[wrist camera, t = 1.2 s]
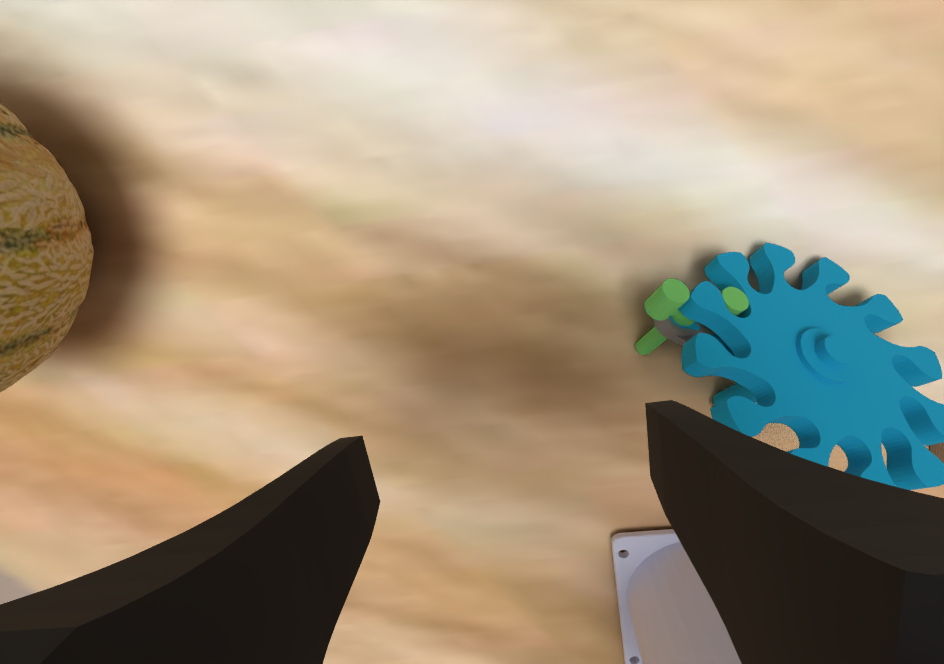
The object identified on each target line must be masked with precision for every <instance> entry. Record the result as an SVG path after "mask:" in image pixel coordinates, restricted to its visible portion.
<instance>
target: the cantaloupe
mask: <svg viewBox="0 0 944 664" xmlns="http://www.w3.org/2000/svg"><path fill="white" fill-rule="evenodd" d="M93 256H94V248H93V245H92V240H91V233H90V231H89V228H88V226H87V223H86V218H85V212H84V207H83V205H82V202H81V200H80V198H79V196H78V194H77V191H76V189H75V187H74V186H73V185H72V183H71V182H70V181H69V179H68V177H67V175H66V173H65V171H64V170H63V168H62V167H61V166H60V165H59V164H58V162H57V161H56V159H55V157H54V156H53V155H52V154H51V153H50V151H49V150H48V149H46V148H45V147H44V146H42V145H41V144H39V143H38V142H36V141H35V140H34V139H33V137H32V136H31V135H30V133H29V132H28V131H27V129H26V128H25V126H24V125H23V124H22V123H21V121H20V120H19V119H18V118H17V117H16V115H15V114H14V113H12V112H11V111H10V110H8V109H7V108H6V107H4V106H3V105H2V104H0V392H1V391H4V390H5V389H7V388H8V387H10V386H11V385H13V384H14V383H16V382H17V381H18V380H20V379H21V378H22V377H23V376H25V375H26V374H28V373H29V372H31V371H32V370H34V369H35V368H36V367H37V366H38V365H39V364H41V363H42V362H43V361H44V360H45V359H47V358H49V357H50V356H51V354H52V353H53V352H54V350H55V349H56V348H57V345H58V344H59V343H60V342H61V341H62V340H63V338H64V337H65V336H66V334H67V333H68V331H69V329H70V328H71V326H72V324H73V322H74V319H75V317H76V315H77V312H78V309H79V306H80V304H81V303H82V302H83V301H84V299H85V297H86V293H87V290H88V286H89V280H90V274H91V268H92V260H93Z"/></svg>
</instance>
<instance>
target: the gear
mask: <svg viewBox="0 0 944 664" xmlns="http://www.w3.org/2000/svg"><path fill="white" fill-rule="evenodd" d="M794 263H795V257H794V254H793V253H792V251H790V250H788V249H786V248H784V247H781V246H778V245H775V244H770V243H765V244H764V245H763V246H762V247H761V248H759V249H758V250H757V251H756V252H755V253H754V254H752V255H751V257H750V265H751V267H752V268H753V270H754V272H755V274H756V276H757V279H758V283H759V292H757V291H755V290H754V289H753V288H752V287H751V286H750V284H749V283H748V279H747V277H748V273H749V268H750V267H749V263H748V260H747V259H746V258H745V256H744V255H743V254H741V253H739V252H728V253H723V254H720V255H717V256H716V257H715V258H714V259H713V260H712V261H711V262H710V263H709V264H708V265H707V266H706V267H705V268H704V270H705V274H706V276H707V277H708V279H709V280H710V281H711V282H713V283H714V284H715V285H716V286H717V287H718V288H719V289H720V290H721V292H720V291H719V289H718V288H717V287H716V286H715V285H713V284H712V283H710V282H708V281H704V282H701V283H700V284H699V285H698V286H697V287H695V288H694V289H693V290H692V291H691V292H689V290H688V288H687V286H686V285H685V284H684V283H683V282H681V281H679V280H677V279H667V280H666V281H665V282H664V283H663V284H662V285H661V286H660V287H659V288H658V289H657V290H656V291H655V292H654V293H653V294H652V295H651V296H650V297H649V298H648V299H647V300H646V301H645V303H644V308H645V311H646V312H647V314H648V315H649V316H650V317H651V318H653V321H654V325H655V327H653V328H652V329H651V330H650V331H649V332H648V333H647V334H646V335H644V336H643V337H642V338H641V339H640V340H639V341H638V342H637V343H636V345H635V347H636V350H637V351H638V353H640V354H642V355H648V354H650V353H651V352H652V351H653V350H655V349H656V348H657V347H658V346H660V345H661V344H662V343H663V342H665V341H666V340H667V339H669V340H671V341H673V342H675V343H676V344H678V345H680V346H682V347H683V348H682V368H683V371H685V372H686V373H687V374H689V375H691V376H694V377H703V376H720V377H724V378H727V379H730V380H732V381H734V382H736V384H734V385H732V386H730V387H728V388H726V389H725V390H723V391H721V392H719V393H717V394H715V395H714V397H713V404H714V406H712V408H711V409H710V410H711V415H712V418H713V420H716V421H718V422H720V423H722V424H724V425H726V426H728V427H730V428H732V429H734V430H736V431H739V432H741V433H743V434H745V435H747V436H750V437H752V436H755V435H758V434H759V433H760V432H761V431H762V429H763V428H764V426H765V425H766V424H767V423H782V424H785V425H787V426H789V427H790V428H791V429H793V430H794V432H795V433H796V435H797V436H798V439H799V443H800V445H799V449H794V450H791V451H787V452H788V453H790V454H793V455H796V456H798V457H801V458H804V459H807V460H810V461H813V462H815V463H818V464H821V465H824V466H827V467H828V462H829V457H830V453H831V451H832V449H833V447H834V446H835V445H836V444H837V445H838V446H840V447H841V448H842V450H843V451H844V452H845V454H846V456H847V459H848V468H847V469H846V471H845V473H849V474H852V475H855V476H859V477H862V478H866V479H869V480H873V481H876V482H880V483H884V484H888V485H891V486H895V485H896V486H897V487H899V488H903V489H906V490H914V489H922V488H929V487H936V486H940V485H942V484H944V464H943V463H942V461H941V460H940V459H939V458H937V457H936V456H935V455H934V454H932V453H931V452H930V451H929V450H928V449H927V448H926V447H925V446H924V445H926V446H928V445H933V444H938V443H943V442H944V405H943V404H940V403H937V402H935V401H933V400H930V399H928V398H927V397H925V396H924V395H922V394H920V393H919V392H918V391H916V390H915V389H914V388H913V387H912V386H914V387H916V386H920V385H923V384H926V383H929V382H932V381H935V380H939V379H942V371H941V367H940V364H939V361H938V359H937V356H936V354H935V352H933V351H932V350H930V349H928V348H926V347H923V346H917V347H902V346H898V345H895V344H892V343H890V342H888V341H886V340H884V339H882V338H880V337H878V336H876V335H874V334H873V333H878V332H881V331H883V330H885V329H887V328H889V327H891V326H893V325H896V324H898V323H900V322H901V321H902V320H903V318H902V316H901V314H900V313H899V311H898V310H897V308H896V307H895V306H894V305H893V303H892V302H891V301H890V300H889V299H888V298H887V297H886V296H885V295H882V294H877V295H874V296H872V297H870V298H868V299H867V300H865V301H863V302H861V303H859V304H857V305H856V306H841V305H838V304H836V303H834V302H833V301H832V300H831V299H830V298H829V297H828V295H827V294H829V293H831V292H833V291H834V290H836V289H838V288H839V287H841V286H842V285H844V284H846V283H847V282H848V281H849V278H850V277H849V274H848V273H847V272H846V271H845V270H844V269H842V268H841V267H840V266H839V265H837V264H836V263H834V262H833V261H831V260H829V259H828V258H826V257H824V258H822V259H820V260H819V261H817V262H816V263H814V264H813V265H811V266H810V267H809V268H807V269H806V270H804V271H803V273H802V280H803V282H802V288H801V290H798V289H795V288H793V287H792V286H790V285H789V284H788V283H787V281H786V280H785V278H784V271H786V270H787V269H788V268H790V267H791V266H792V265H793V264H794ZM756 402H757V404H756ZM881 442H882V444H883V445H884V447H885V449H886V452H887V469H886V466H885V463H884V461H883V456H882V449H881ZM923 444H924V445H923ZM896 486H895V487H896Z"/></svg>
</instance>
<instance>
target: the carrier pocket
mask: <svg viewBox="0 0 944 664" xmlns="http://www.w3.org/2000/svg"><path fill="white" fill-rule="evenodd" d="M930 452H931V453H932V454H934V455H935V456H936V457H937V458H939V459H940V460H941V461H942V463H944V442H943V443H938V444H933V445H930Z"/></svg>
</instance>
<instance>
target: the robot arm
mask: <svg viewBox="0 0 944 664" xmlns="http://www.w3.org/2000/svg"><path fill="white" fill-rule="evenodd" d="M645 404H646V419H647V433H648V447H649V462H650V476H651V479H652V482H653V484H654V487H655V490H656V492H657V495H658V498H659V500H660V503H661V505H662V508H663V510H664V512H665V515H666V516H667V518H668V520H669V522H670V524H671V526H672V528H673V529H666V530H652V531H638V532H624V533H617V534H615V535H614V536H613V537H612V539H611V545H612V554H613V563H614V572H615V581H616V589H617V598H618V607H619V616H620V625H621V634H622V643H623V652H624V661H625V664H944V498H939V497H935V496H931V495H926V494H922V493H918V492H914V491H910V490H906V489H903V488H899V487H895V486H891V485H888V484H884V483H880V482H876V481H873V480H869V479H866V478H862V477H859V476H855V475H852V474H849V473H845V472H842V471H839V470H836V469H833V468H830V467H827V466H824V465H821V464H818V463H815V462H813V461H810V460H807V459H804V458H801V457H798V456H796V455H793V454H790V453H788V452H785V451H783V450H781V449H778V448H776V447H773V446H771V445H768V444H766V443H764V442H761V441H759V440H756V439H754V438H752V437H750V436H747V435H745V434H743V433H741V432H739V431H736V430H734V429H732V428H730V427H728V426H726V425H724V424H722V423H720V422H718V421H716V420H713V419H711V418H709V417H707V416H705V415H703V414H701V413H699V412H697V411H695V410H693V409H691V408H689V407H687V406H685V405H683V404H680V403H678V402H675V401H673V400H669V401H661V402H652V403H645ZM379 505H380V499H379V496H378V492H377V488H376V485H375V481H374V477H373V473H372V470H371V466H370V462H369V459H368V455H367V451H366V447H365V444H364V440H363V436H356V437H347V438H340V439H338V440H336V441H334V442H332V443H330V444H329V445H327V446H325V447H324V448H322V449H321V450H319V451H317V452H316V453H314V454H313V455H311V456H310V457H308V458H307V459H305V460H304V461H302V462H301V463H299V464H298V465H296V466H295V467H293V468H292V469H290V470H289V471H287V472H286V473H284V474H283V475H281V476H280V477H278V478H277V479H275V480H274V481H272V482H270V483H269V484H267V485H266V486H264V487H262V488H261V489H259V490H258V491H256V492H254V493H253V494H251V495H250V496H248V497H246V498H245V499H243V500H242V501H240V502H239V503H237V504H235V505H233V506H232V507H230V508H228V509H226V510H225V511H223V512H221V513H219V514H218V515H216V516H214V517H212V518H210V519H208V520H206V521H205V522H203V523H201V524H199V525H197V526H195V527H193V528H191V529H189V530H187V531H185V532H183V533H181V534H179V535H177V536H175V537H173V538H170V539H168V540H166V541H164V542H162V543H160V544H157V545H155V546H153V547H151V548H149V549H147V550H144V551H142V552H140V553H138V554H136V555H134V556H131V557H129V558H127V559H124V560H122V561H119V562H117V563H114V564H112V565H110V566H107V567H105V568H102V569H100V570H97V571H95V572H92V573H89V574H87V575H84V576H82V577H79V578H76V579H74V580H71V581H68V582H66V583H63V584H60V585H57V586H55V587H52V588H49V589H46V590H43V591H40V592H37V593H34V594H31V595H28V596H25V597H22V598H19V599H16V600H13V601H10V602H7V603H4V604H1V605H0V664H323V660H324V657H325V654H326V651H327V647H328V644H329V641H330V639H331V636H332V633H333V631H334V628H335V625H336V623H337V620H338V618H339V615H340V613H341V610H342V608H343V606H344V603H345V601H346V598H347V596H348V593H349V591H350V589H351V586H352V584H353V581H354V579H355V577H356V574H357V572H358V569H359V567H360V564H361V562H362V559H363V557H364V554H365V552H366V549H367V547H368V544H369V542H370V539H371V536H372V532H373V529H374V525H375V521H376V517H377V513H378V509H379ZM620 550H626V551H625V552H623V553H621V552H619V551H620ZM633 656H634V657H633Z"/></svg>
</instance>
